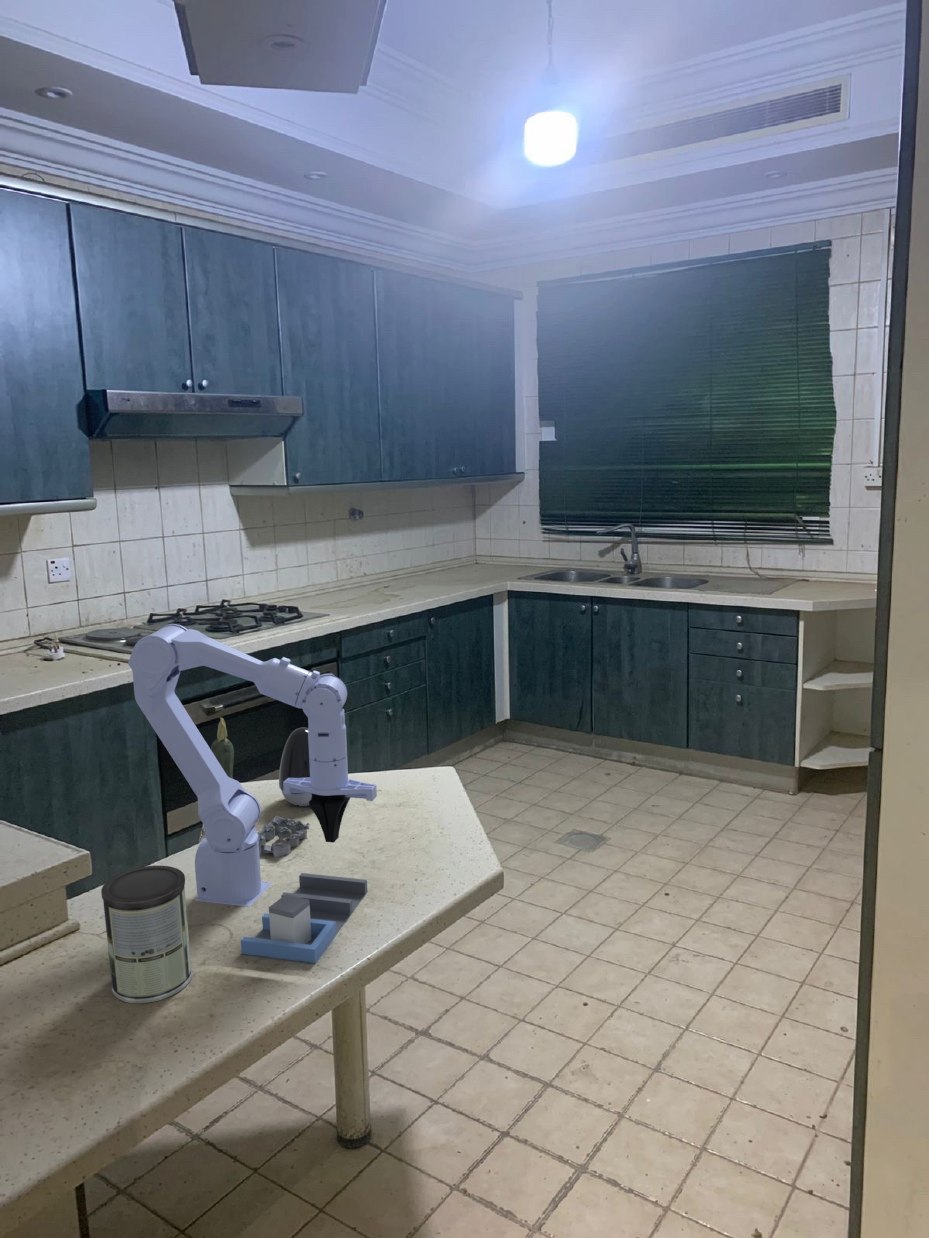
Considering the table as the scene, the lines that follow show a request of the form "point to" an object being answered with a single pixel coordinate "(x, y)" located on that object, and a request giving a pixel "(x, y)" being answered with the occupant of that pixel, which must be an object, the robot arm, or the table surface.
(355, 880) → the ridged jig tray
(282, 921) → the grey square block
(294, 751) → the black penguin toy
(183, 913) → the coffee can
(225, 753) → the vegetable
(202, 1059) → the table surface
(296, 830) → the grey lumpy cluster
